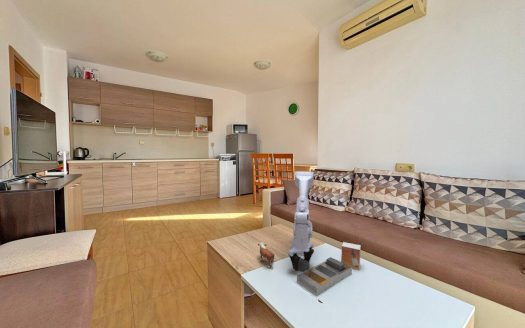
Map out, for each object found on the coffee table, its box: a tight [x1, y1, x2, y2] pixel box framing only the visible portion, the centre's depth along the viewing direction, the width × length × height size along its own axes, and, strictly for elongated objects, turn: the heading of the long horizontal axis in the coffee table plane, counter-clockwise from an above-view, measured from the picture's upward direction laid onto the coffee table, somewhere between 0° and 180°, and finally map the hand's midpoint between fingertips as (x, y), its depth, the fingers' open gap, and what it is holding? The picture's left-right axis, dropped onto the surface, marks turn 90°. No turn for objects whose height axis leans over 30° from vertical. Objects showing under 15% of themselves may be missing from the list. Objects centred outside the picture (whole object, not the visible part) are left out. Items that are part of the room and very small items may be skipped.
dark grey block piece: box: [297, 256, 310, 273], centre depth 96 cm, size 7×3×5 cm, turn 37°
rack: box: [296, 257, 353, 297], centre depth 89 cm, size 10×24×4 cm, turn 127°
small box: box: [340, 241, 362, 271], centre depth 99 cm, size 8×6×10 cm
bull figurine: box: [257, 242, 275, 269], centre depth 102 cm, size 4×13×8 cm, turn 25°
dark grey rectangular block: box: [325, 257, 344, 272], centre depth 93 cm, size 7×3×5 cm, turn 37°
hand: (301, 266), depth 96 cm, fingers open, 7 cm apart
